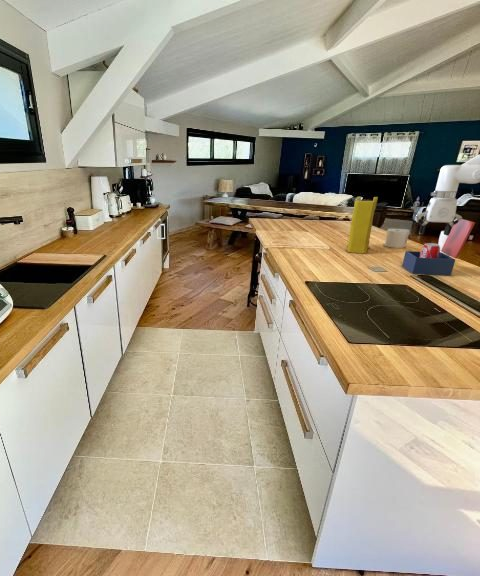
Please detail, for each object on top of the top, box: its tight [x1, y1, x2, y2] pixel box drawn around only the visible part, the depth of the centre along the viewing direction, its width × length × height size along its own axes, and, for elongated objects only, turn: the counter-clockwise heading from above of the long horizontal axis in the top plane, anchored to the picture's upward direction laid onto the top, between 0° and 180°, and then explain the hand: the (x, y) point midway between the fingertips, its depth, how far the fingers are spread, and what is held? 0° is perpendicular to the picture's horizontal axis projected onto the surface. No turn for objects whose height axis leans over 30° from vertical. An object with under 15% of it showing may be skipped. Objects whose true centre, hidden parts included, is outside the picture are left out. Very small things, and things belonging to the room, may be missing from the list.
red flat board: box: [441, 218, 476, 260], centre depth 140 cm, size 16×13×1 cm
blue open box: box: [401, 250, 456, 277], centre depth 147 cm, size 15×13×8 cm
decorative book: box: [346, 196, 379, 254], centre depth 183 cm, size 20×11×30 cm, turn 149°
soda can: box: [419, 242, 440, 258], centre depth 146 cm, size 7×7×12 cm
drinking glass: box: [437, 230, 450, 257], centre depth 161 cm, size 7×7×15 cm
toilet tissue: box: [384, 228, 411, 249], centre depth 193 cm, size 11×12×10 cm
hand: (433, 234), depth 142 cm, fingers open, 9 cm apart
